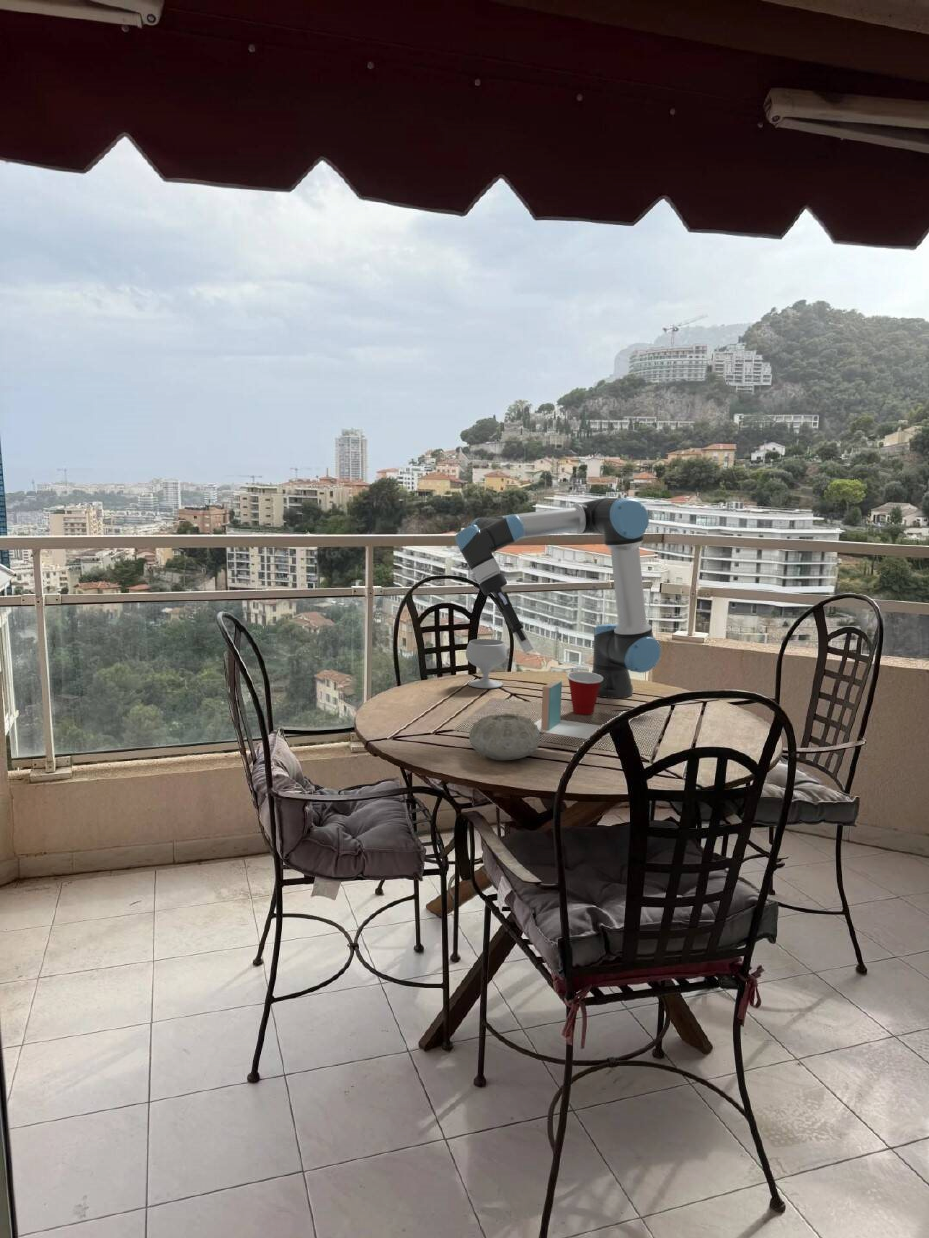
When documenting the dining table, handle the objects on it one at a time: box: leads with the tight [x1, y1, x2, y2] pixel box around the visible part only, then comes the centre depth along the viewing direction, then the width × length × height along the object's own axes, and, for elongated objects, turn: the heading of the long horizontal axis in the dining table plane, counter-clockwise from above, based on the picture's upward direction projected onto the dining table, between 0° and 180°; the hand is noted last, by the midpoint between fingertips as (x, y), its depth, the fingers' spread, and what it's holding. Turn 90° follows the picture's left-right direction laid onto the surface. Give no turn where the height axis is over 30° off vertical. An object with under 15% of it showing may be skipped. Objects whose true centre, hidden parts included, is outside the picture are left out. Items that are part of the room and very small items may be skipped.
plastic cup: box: [566, 670, 603, 716], centre depth 243 cm, size 11×11×12 cm
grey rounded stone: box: [468, 712, 541, 761], centre depth 205 cm, size 18×18×10 cm
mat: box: [533, 717, 601, 740], centre depth 227 cm, size 20×14×1 cm
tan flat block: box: [541, 679, 563, 730], centre depth 229 cm, size 2×9×12 cm, turn 154°
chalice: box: [465, 638, 508, 689], centre depth 277 cm, size 14×14×15 cm
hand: (528, 651), depth 231 cm, fingers closed
